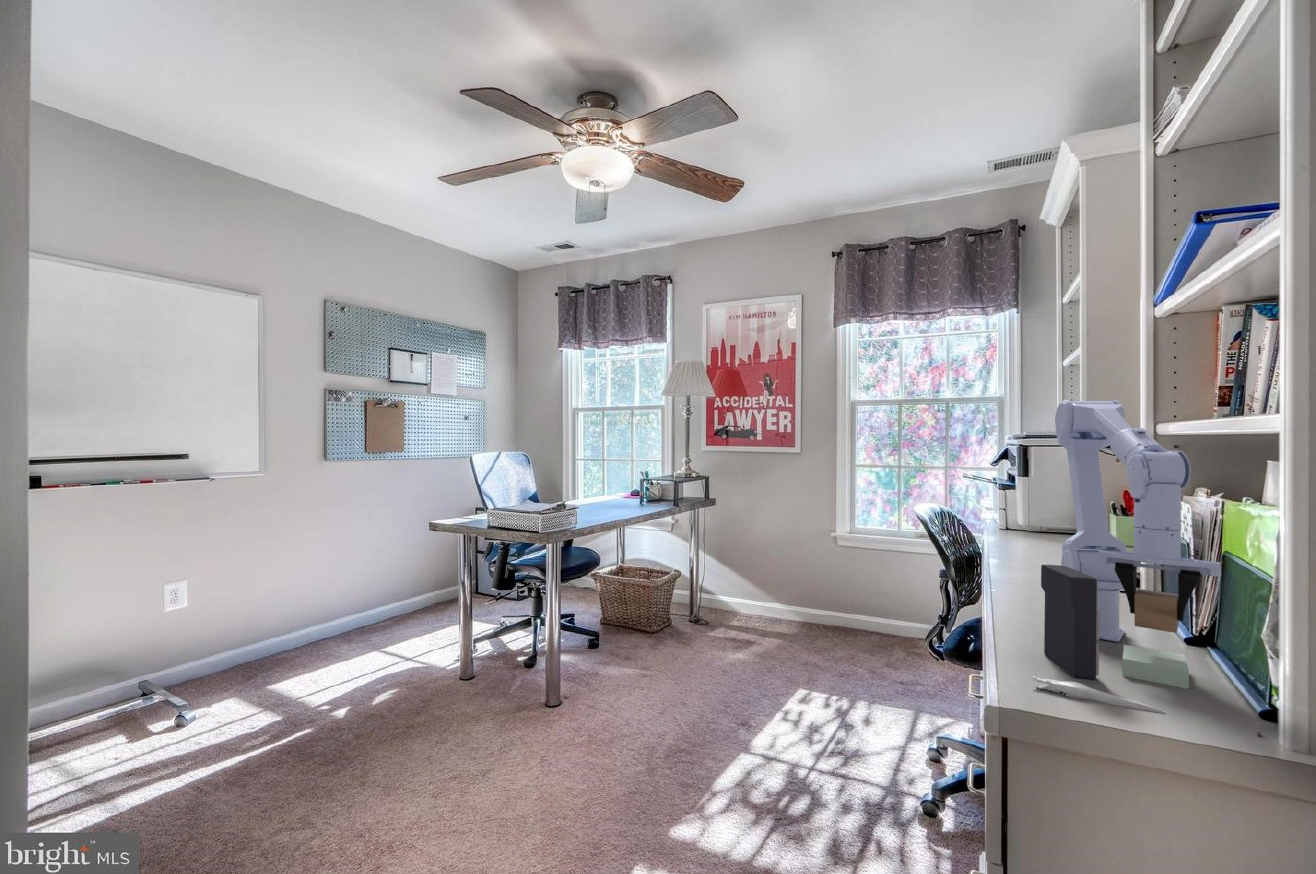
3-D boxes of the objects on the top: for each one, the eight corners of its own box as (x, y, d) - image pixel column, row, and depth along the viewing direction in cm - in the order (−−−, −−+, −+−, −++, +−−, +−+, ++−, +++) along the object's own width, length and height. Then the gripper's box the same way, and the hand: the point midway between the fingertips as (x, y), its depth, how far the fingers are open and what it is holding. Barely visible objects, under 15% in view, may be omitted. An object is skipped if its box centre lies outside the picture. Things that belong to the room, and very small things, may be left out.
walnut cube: (1137, 620, 99) (1138, 588, 100) (1178, 626, 96) (1178, 594, 96) (1134, 626, 96) (1134, 593, 96) (1176, 633, 92) (1176, 599, 93)
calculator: (1102, 681, 91) (1103, 579, 91) (1069, 678, 92) (1070, 577, 92) (1068, 656, 102) (1069, 565, 102) (1039, 654, 103) (1040, 563, 103)
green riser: (1123, 663, 100) (1123, 644, 100) (1185, 674, 96) (1185, 655, 96) (1122, 678, 93) (1122, 658, 93) (1188, 691, 89) (1188, 670, 89)
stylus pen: (1030, 689, 87) (1031, 676, 87) (1031, 684, 89) (1032, 671, 89) (1167, 723, 79) (1168, 708, 79) (1164, 715, 81) (1165, 701, 81)
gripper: (1096, 525, 98) (1095, 611, 98) (1219, 535, 88) (1219, 631, 88) (1102, 522, 103) (1102, 604, 103) (1219, 531, 94) (1219, 621, 93)
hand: (1156, 616), depth 96 cm, fingers closed on walnut cube, 5 cm apart
